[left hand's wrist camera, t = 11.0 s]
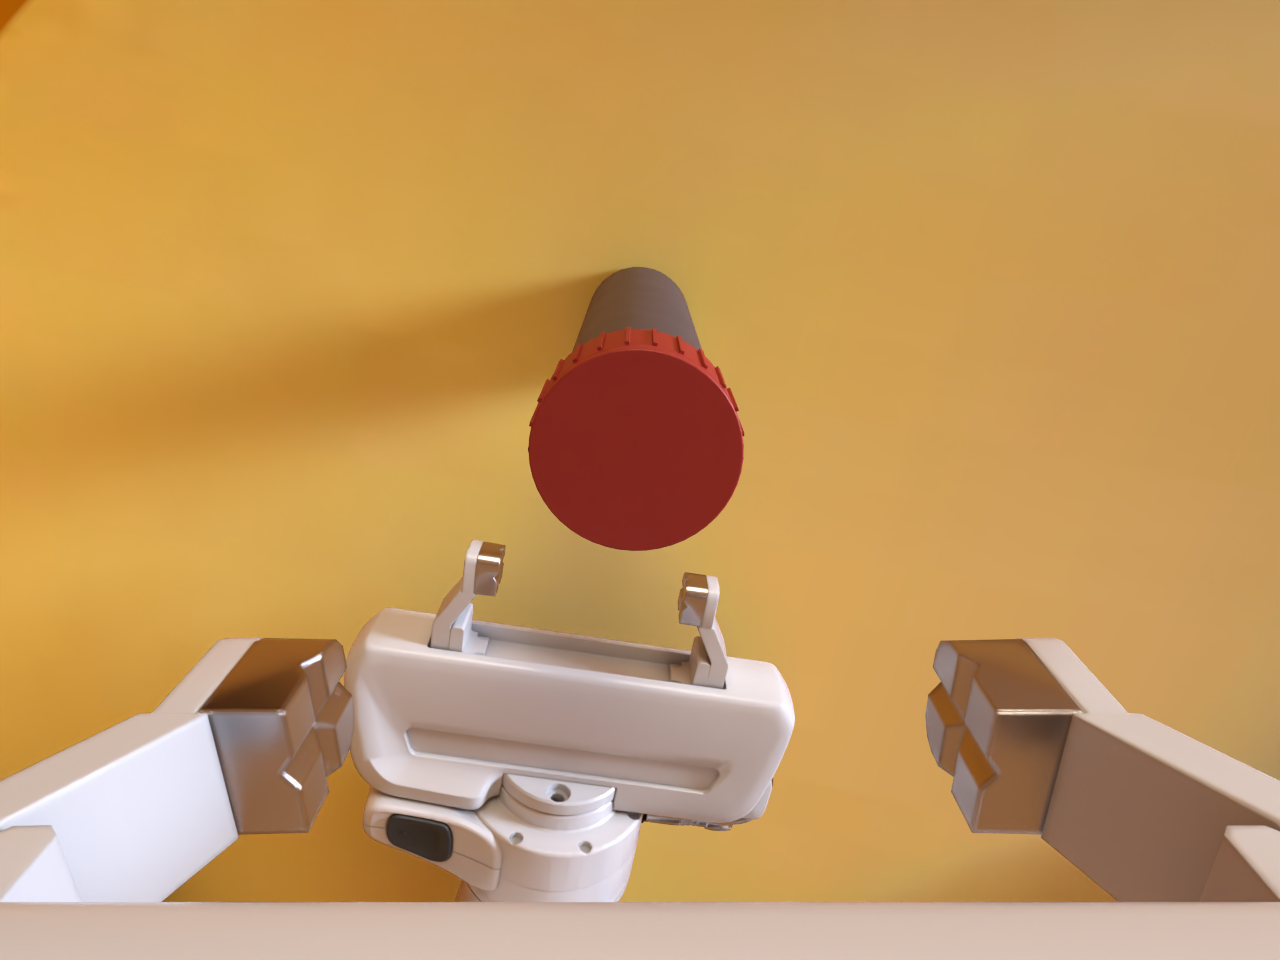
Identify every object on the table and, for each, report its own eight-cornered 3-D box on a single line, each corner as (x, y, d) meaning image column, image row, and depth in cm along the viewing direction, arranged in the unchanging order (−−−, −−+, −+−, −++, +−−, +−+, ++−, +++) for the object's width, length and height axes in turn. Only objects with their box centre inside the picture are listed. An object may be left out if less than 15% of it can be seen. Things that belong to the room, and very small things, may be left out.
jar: (670, 379, 36) (694, 552, 20) (576, 351, 35) (523, 505, 19) (702, 284, 34) (755, 389, 18) (604, 253, 34) (571, 333, 18)
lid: (698, 536, 22) (705, 577, 19) (516, 485, 21) (502, 521, 19) (764, 360, 20) (779, 384, 18) (566, 299, 19) (556, 316, 17)
